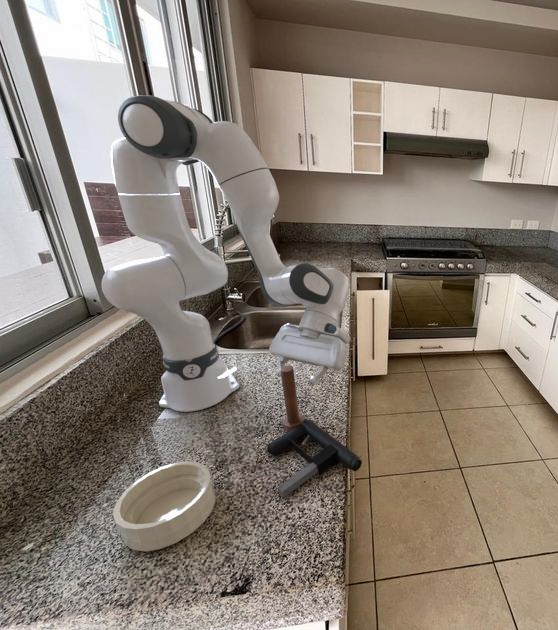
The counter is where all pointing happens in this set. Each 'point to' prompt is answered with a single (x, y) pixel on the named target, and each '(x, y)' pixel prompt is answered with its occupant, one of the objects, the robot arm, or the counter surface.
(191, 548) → the counter surface
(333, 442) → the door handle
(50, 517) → the counter surface
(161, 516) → the bowl
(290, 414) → the stirring stick
